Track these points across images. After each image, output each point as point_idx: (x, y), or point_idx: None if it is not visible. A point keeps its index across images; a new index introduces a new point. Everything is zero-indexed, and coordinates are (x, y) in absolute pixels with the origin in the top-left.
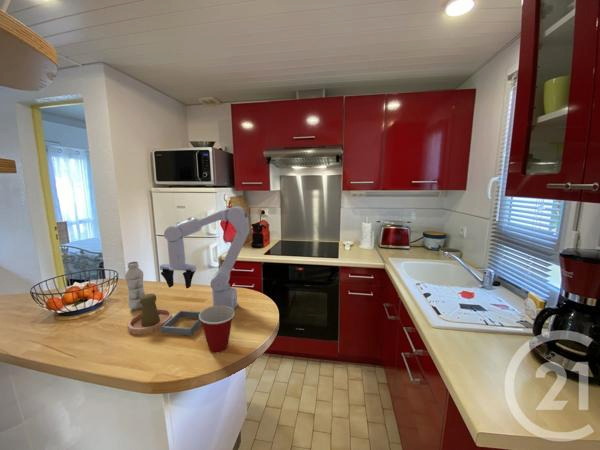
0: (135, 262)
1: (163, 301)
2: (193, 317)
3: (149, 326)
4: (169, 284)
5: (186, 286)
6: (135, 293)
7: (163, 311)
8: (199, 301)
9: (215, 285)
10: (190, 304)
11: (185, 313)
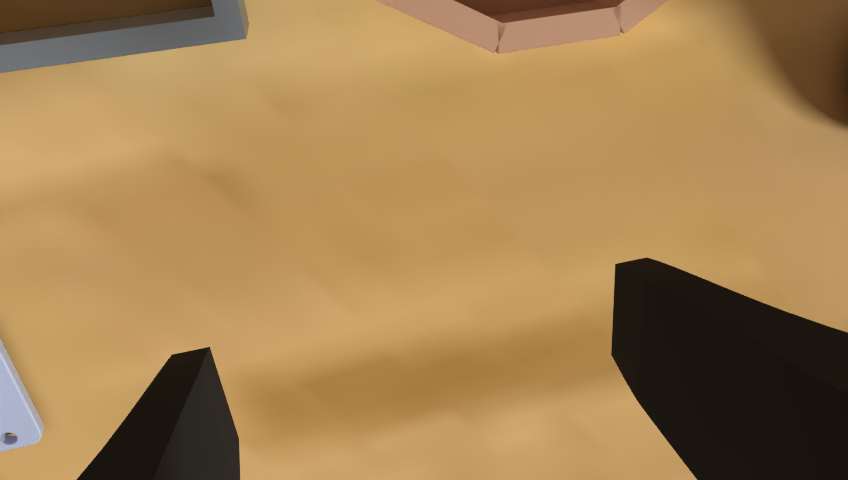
0: None
1: (710, 256)
2: (18, 33)
3: None
4: (661, 294)
5: (177, 376)
6: None
7: (530, 14)
8: (307, 381)
9: None
10: (361, 299)
11: (136, 22)
